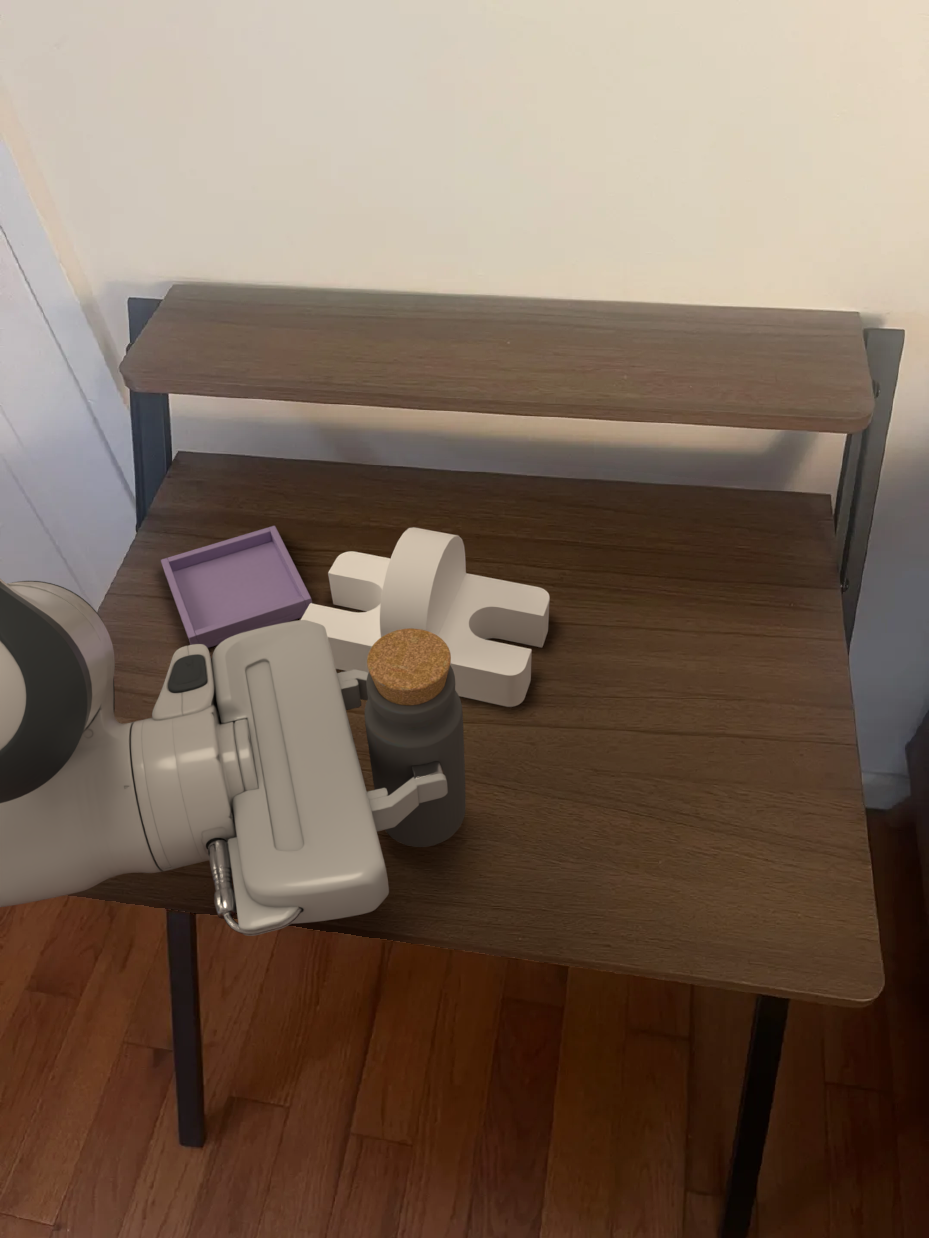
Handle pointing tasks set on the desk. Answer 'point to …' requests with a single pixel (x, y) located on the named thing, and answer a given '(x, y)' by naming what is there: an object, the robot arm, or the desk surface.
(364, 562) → the white slotted bracket
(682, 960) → the desk surface
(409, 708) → the bottle
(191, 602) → the tray
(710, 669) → the desk surface
